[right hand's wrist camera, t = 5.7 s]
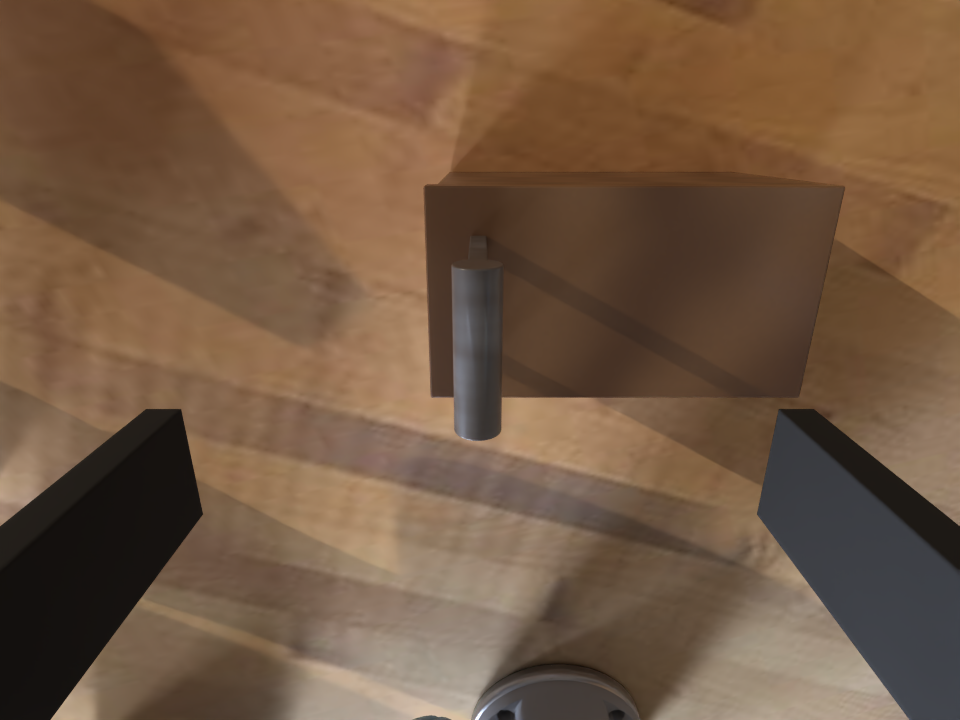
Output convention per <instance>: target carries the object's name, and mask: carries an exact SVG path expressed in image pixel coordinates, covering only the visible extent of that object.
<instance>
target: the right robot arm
mask: <svg viewBox="0 0 960 720" xmlns="http://www.w3.org/2000/svg"><path fill="white" fill-rule="evenodd" d="M202 515H203V512H202V507H201V502H200V498H199V493H198V488H197V483H196V478H195V474H194V469H193V464H192V459H191V454H190V450H189V445H188V440H187V435H186V430H185V426H184V421H183V416H182V411H181V409H146V410H145V411H143V412H142V413H141V414H140V415H138V416H137V417H136V418H135V419H133V420H132V421H131V422H130V423H128V424H127V425H126V426H125V427H123V428H122V429H121V430H120V431H118V432H117V433H116V434H115V435H113V436H112V437H111V438H110V439H108V440H107V441H106V442H105V443H103V444H102V445H101V446H100V447H98V448H97V449H96V450H95V451H93V452H92V453H91V454H90V455H89V456H87V457H86V458H85V459H84V460H82V461H81V462H80V463H79V464H77V465H76V466H75V467H74V468H72V469H71V470H70V471H69V472H67V473H66V474H65V475H64V476H62V477H61V478H60V479H59V480H57V481H56V482H55V483H54V484H52V485H51V486H50V487H49V488H47V489H46V490H45V491H44V492H42V493H41V494H40V495H39V496H37V497H36V498H35V499H34V500H32V501H31V502H30V503H29V504H27V505H26V506H25V507H24V508H23V509H21V510H20V511H19V512H18V513H16V514H15V515H14V516H13V517H11V518H10V519H9V520H8V521H6V522H5V523H4V524H3V525H1V526H0V720H51V718H52V717H53V716H54V714H55V713H56V711H57V710H58V709H59V707H60V706H61V705H62V703H63V702H64V701H65V699H66V698H67V697H68V695H69V694H70V693H71V691H72V690H73V689H74V687H75V686H76V685H77V683H78V682H79V681H80V679H81V678H82V676H83V675H84V674H85V672H86V671H87V670H88V668H89V667H90V666H91V664H92V663H93V662H94V660H95V659H96V658H97V656H98V655H99V654H100V652H101V651H102V650H103V648H104V647H105V645H106V644H107V643H108V641H109V640H110V639H111V637H112V636H113V635H114V633H115V632H116V631H117V629H118V628H119V627H120V625H121V624H122V623H123V621H124V620H125V619H126V617H127V616H128V615H129V613H130V612H131V610H132V609H133V608H134V606H135V605H136V604H137V602H138V601H139V600H140V598H141V597H142V596H143V594H144V593H145V592H146V590H147V589H148V588H149V586H150V585H151V584H152V582H153V581H154V580H155V578H156V577H157V575H158V574H159V573H160V571H161V570H162V569H163V567H164V566H165V565H166V563H167V562H168V561H169V559H170V558H171V557H172V555H173V554H174V553H175V551H176V550H177V549H178V547H179V546H180V544H181V543H182V542H183V540H184V539H185V538H186V536H187V535H188V534H189V532H190V531H191V530H192V528H193V527H194V526H195V524H196V523H197V522H198V520H199V519H200V518H201V516H202ZM757 515H758V516H759V518H760V519H761V520H762V522H763V523H764V524H765V526H766V527H767V528H768V530H769V531H770V532H771V534H772V535H773V536H774V538H775V539H776V540H777V542H778V543H779V544H780V546H781V547H782V549H783V550H784V551H785V553H786V554H787V555H788V557H789V558H790V559H791V561H792V562H793V563H794V565H795V566H796V567H797V569H798V570H799V571H800V573H801V574H802V575H803V577H804V578H805V580H806V581H807V582H808V584H809V585H810V586H811V588H812V589H813V590H814V592H815V593H816V594H817V596H818V597H819V598H820V600H821V601H822V602H823V604H824V605H825V606H826V608H827V609H828V610H829V612H830V613H831V615H832V616H833V617H834V619H835V620H836V621H837V623H838V624H839V625H840V627H841V628H842V629H843V631H844V632H845V633H846V635H847V636H848V637H849V639H850V640H851V641H852V643H853V644H854V645H855V647H856V648H857V650H858V651H859V652H860V654H861V655H862V656H863V658H864V659H865V660H866V662H867V663H868V664H869V666H870V667H871V668H872V670H873V671H874V672H875V674H876V675H877V676H878V678H879V679H880V681H881V682H882V683H883V685H884V686H885V687H886V689H887V690H888V691H889V693H890V694H891V695H892V697H893V698H894V699H895V701H896V702H897V703H898V705H899V706H900V707H901V709H902V710H903V711H904V713H905V714H906V716H907V717H908V718H909V720H960V526H959V525H957V524H956V523H955V522H954V521H952V520H951V519H950V518H949V517H947V516H946V515H945V514H944V513H942V512H941V511H940V510H939V509H937V508H936V507H935V506H934V505H933V504H931V503H930V502H929V501H928V500H926V499H925V498H924V497H923V496H921V495H920V494H919V493H918V492H916V491H915V490H914V489H913V488H911V487H910V486H909V485H908V484H906V483H905V482H904V481H903V480H901V479H900V478H899V477H898V476H896V475H895V474H894V473H893V472H891V471H890V470H889V469H888V468H886V467H885V466H884V465H883V464H881V463H880V462H879V461H878V460H876V459H875V458H874V457H873V456H871V455H870V454H869V453H868V452H867V451H865V450H864V449H863V448H862V447H860V446H859V445H858V444H857V443H855V442H854V441H853V440H852V439H850V438H849V437H848V436H847V435H845V434H844V433H843V432H842V431H840V430H839V429H838V428H837V427H835V426H834V425H833V424H832V423H830V422H829V421H828V420H827V419H825V418H824V417H823V416H822V415H820V414H819V413H818V412H817V411H815V410H814V409H779V411H778V416H777V421H776V426H775V430H774V435H773V440H772V445H771V450H770V454H769V459H768V464H767V469H766V474H765V478H764V483H763V488H762V493H761V498H760V502H759V507H758V512H757Z"/></svg>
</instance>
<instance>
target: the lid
mask: <svg viewBox="0 0 960 720" xmlns="http://www.w3.org/2000/svg"><path fill="white" fill-rule="evenodd" d="M844 190H845V187H844V186H839V185H831V184H427V185H425V186H424V215H425V244H426V273H427V302H428V332H429V361H430V390H431V397H454V430H455V432H456V434H457V435H458V436H460V437H461V438H464V439H467V440H473V441H482V440H488V439H492V438H494V437H496V436H497V435H499V433H500V432H501V413H502V397H602V398H798V397H799V394H800V389H801V385H802V380H803V376H804V371H805V367H806V362H807V357H808V353H809V348H810V344H811V339H812V335H813V330H814V326H815V321H816V317H817V312H818V308H819V303H820V298H821V294H822V289H823V285H824V280H825V276H826V271H827V267H828V262H829V258H830V253H831V249H832V244H833V239H834V235H835V230H836V226H837V221H838V217H839V212H840V208H841V203H842V199H843V194H844Z"/></svg>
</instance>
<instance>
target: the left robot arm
mask: <svg viewBox="0 0 960 720" xmlns="http://www.w3.org/2000/svg"><path fill="white" fill-rule="evenodd" d="M413 720H451V719H449V718H446V717H436V716H423V717H419V718H416V719H413ZM471 720H640V717H639V714H638V710H637V707H636V704H635V702H634V700H633V698H632V697H631V695H630V694H629V693H628V691H627V690H626V689H625V688H624V687H623V686H622V685H621V684H619V683H618V682H617V681H615V680H614V679H612V678H611V677H609V676H607V675H605V674H603V673H601V672H598V671H596V670H593V669H589V668H586V667H581V666H576V665H565V664H553V665H542V666H536V667H531V668H528V669H524V670H521V671H518V672H516V673H513V674H511V675H509V676H507V677H505V678H503V679H502V680H500V681H499V682H497V683H496V684H494V685H493V686H492V687H491V688H489V689H488V690H487V691H486V692H485V694H484V695H483V696H482V697H481V698H480V700H479V701H478V703H477V705H476V707H475V709H474V712H473V715H472V719H471Z"/></svg>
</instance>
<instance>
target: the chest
mask: <svg viewBox="0 0 960 720" xmlns="http://www.w3.org/2000/svg"><path fill="white" fill-rule="evenodd" d="M439 184H823V183H815V182H807V181H799V180H791V179H783V178H775V177H767V176H758V175H750V174H742V173H734V172H449V174H448V175H447V176H446V177H445V178H444V179H443V180H442V181H441V182H440V183H439Z"/></svg>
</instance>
